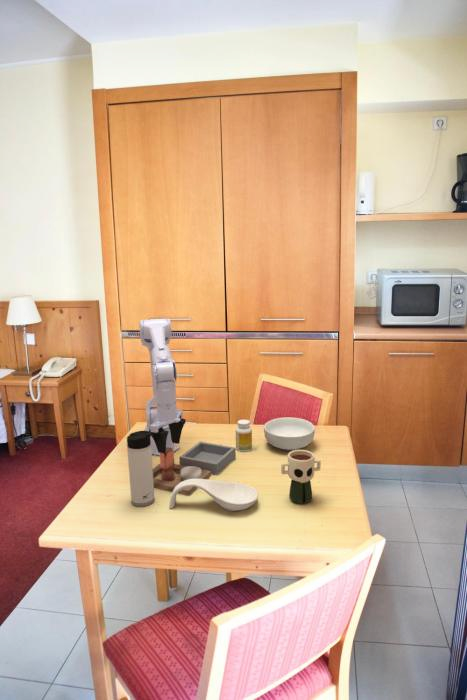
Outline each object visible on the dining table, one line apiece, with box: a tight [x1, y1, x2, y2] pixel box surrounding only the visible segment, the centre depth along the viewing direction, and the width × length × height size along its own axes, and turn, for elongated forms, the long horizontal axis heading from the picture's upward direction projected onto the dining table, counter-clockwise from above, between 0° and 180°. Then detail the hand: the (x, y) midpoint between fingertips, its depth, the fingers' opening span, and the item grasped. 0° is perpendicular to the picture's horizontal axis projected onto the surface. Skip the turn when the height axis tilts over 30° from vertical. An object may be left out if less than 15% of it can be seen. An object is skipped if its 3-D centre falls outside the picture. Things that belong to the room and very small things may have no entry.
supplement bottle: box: [235, 419, 253, 453], centre depth 178 cm, size 5×5×10 cm
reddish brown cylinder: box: [159, 448, 176, 482], centre depth 159 cm, size 4×4×9 cm
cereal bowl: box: [263, 416, 316, 451], centre depth 180 cm, size 17×17×7 cm
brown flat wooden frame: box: [153, 463, 212, 496], centre depth 158 cm, size 17×13×4 cm
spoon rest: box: [168, 478, 259, 512], centre depth 144 cm, size 24×12×7 cm, turn 89°
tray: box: [179, 441, 237, 476], centre depth 169 cm, size 13×13×4 cm
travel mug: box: [126, 430, 155, 508], centre depth 145 cm, size 6×7×20 cm
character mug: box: [280, 449, 322, 504], centre depth 145 cm, size 11×7×13 cm, turn 100°
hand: (168, 447), depth 157 cm, fingers open, 7 cm apart
